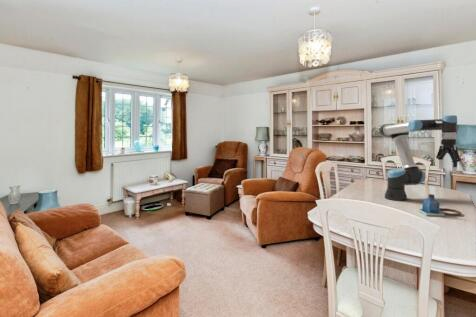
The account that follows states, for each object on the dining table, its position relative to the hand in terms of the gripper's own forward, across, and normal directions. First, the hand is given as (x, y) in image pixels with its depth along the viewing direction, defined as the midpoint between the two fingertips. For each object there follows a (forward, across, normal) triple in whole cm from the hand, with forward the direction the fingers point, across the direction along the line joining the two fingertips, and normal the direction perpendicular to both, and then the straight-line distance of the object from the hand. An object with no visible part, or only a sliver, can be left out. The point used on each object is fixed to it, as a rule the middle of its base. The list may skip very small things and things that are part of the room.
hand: (446, 170), depth 165 cm
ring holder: (+27, +9, -3) cm, 28 cm away
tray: (+27, +11, -14) cm, 32 cm away
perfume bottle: (+26, +11, -14) cm, 32 cm away
